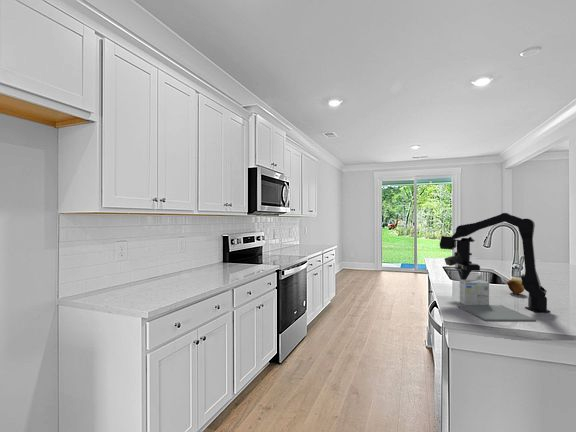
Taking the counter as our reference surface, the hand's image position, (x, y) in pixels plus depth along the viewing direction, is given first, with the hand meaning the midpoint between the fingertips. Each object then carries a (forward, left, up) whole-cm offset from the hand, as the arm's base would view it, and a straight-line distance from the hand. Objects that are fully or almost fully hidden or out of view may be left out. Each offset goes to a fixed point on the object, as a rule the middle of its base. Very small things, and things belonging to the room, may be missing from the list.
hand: (462, 282), depth 162 cm
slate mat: (-24, 0, -8) cm, 25 cm away
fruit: (+11, -34, -8) cm, 36 cm away
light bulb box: (-9, 0, -8) cm, 13 cm away
